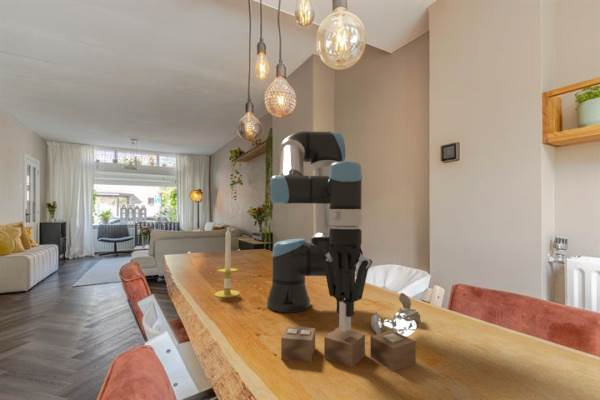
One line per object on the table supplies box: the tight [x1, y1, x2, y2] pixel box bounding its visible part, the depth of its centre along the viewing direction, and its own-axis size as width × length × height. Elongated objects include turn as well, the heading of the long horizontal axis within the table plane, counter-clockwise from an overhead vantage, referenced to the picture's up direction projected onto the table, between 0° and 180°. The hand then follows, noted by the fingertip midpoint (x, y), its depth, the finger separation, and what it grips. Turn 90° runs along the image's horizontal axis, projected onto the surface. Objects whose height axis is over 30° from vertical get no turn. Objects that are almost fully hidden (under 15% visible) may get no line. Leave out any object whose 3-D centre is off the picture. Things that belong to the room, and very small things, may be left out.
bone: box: [397, 292, 422, 325], centre depth 92 cm, size 9×6×10 cm
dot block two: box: [280, 325, 316, 363], centre depth 72 cm, size 7×7×5 cm
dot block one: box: [369, 330, 417, 372], centre depth 69 cm, size 7×7×5 cm
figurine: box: [370, 311, 418, 337], centre depth 84 cm, size 9×6×12 cm
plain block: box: [323, 327, 366, 369], centre depth 70 cm, size 7×7×5 cm
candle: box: [214, 227, 241, 299], centre depth 121 cm, size 10×10×27 cm
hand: (345, 329), depth 70 cm, fingers closed
